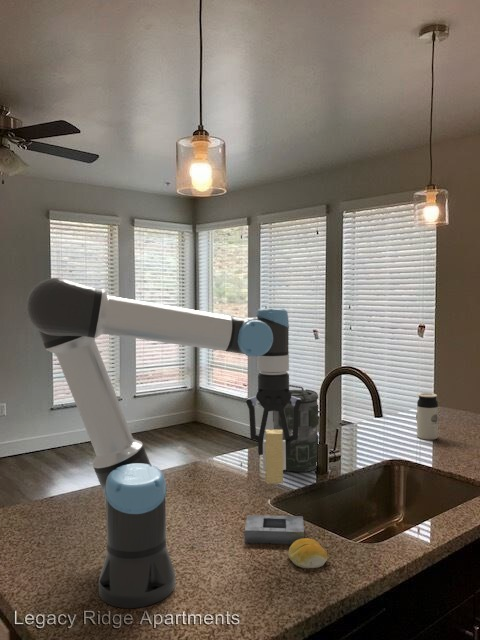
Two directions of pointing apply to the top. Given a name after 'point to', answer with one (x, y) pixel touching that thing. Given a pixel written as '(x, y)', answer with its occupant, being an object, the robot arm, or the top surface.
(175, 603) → the top surface
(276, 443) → the brass peg
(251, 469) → the top surface
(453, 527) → the top surface
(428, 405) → the travel mug
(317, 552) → the bread roll
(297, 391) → the canister
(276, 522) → the grey slotted block
